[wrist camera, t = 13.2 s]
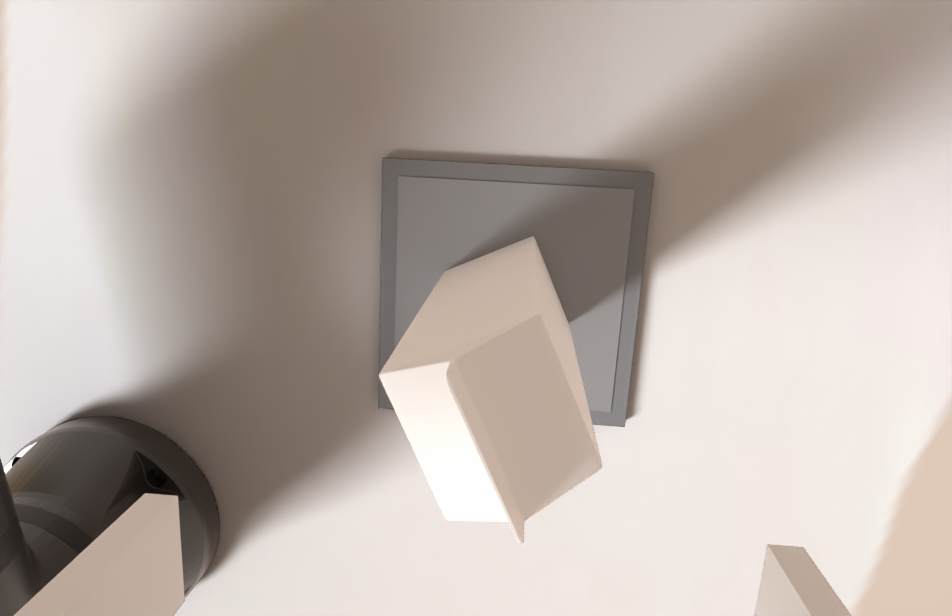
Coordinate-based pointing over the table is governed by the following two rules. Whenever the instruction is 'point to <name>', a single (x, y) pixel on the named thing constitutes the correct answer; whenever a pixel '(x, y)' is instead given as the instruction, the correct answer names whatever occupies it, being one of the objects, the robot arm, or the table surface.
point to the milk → (494, 391)
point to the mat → (509, 221)
